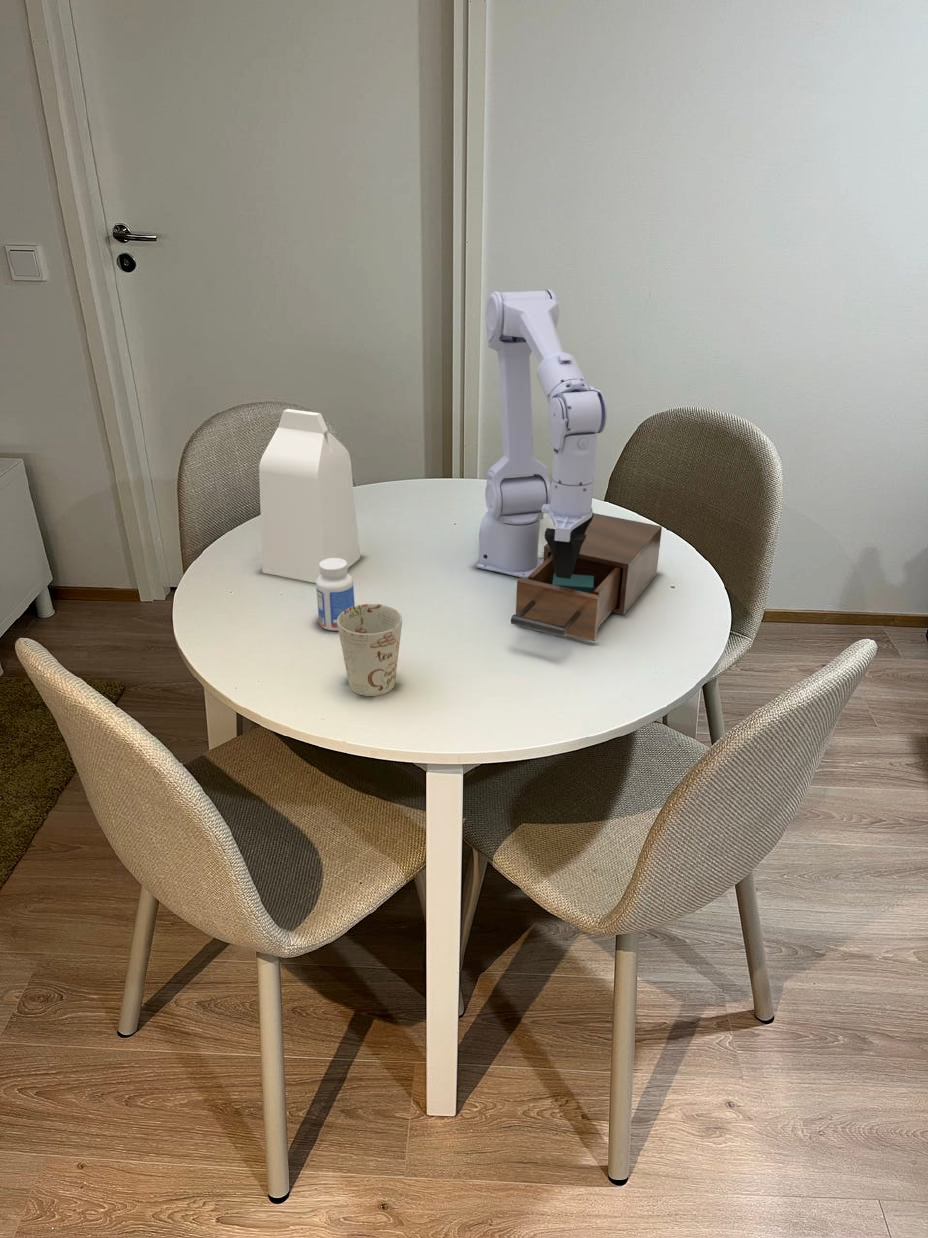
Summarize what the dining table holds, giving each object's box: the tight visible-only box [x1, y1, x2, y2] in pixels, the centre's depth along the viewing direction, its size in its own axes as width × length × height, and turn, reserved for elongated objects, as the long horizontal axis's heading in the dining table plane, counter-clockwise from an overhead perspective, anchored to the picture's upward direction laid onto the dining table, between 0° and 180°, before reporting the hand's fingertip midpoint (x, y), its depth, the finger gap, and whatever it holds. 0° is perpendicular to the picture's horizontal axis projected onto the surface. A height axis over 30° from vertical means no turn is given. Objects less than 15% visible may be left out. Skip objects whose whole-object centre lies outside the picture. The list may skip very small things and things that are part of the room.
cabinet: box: [542, 512, 663, 616], centre depth 156 cm, size 17×14×9 cm
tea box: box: [552, 573, 594, 594], centre depth 146 cm, size 6×4×4 cm, turn 82°
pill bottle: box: [315, 558, 356, 632], centre depth 143 cm, size 6×5×10 cm
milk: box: [258, 408, 361, 584], centre depth 157 cm, size 12×12×26 cm
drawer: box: [510, 555, 623, 642], centre depth 144 cm, size 22×12×7 cm, turn 153°
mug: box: [337, 603, 403, 697], centre depth 130 cm, size 8×13×10 cm, turn 27°
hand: (566, 568), depth 141 cm, fingers open, 5 cm apart
